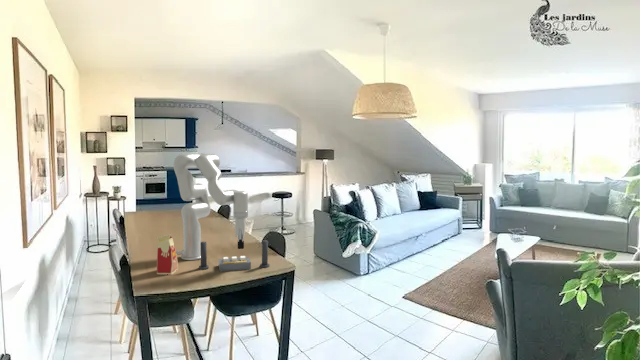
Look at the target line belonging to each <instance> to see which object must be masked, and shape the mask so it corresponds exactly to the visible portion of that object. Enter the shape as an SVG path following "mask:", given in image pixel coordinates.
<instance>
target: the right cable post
mask: <svg viewBox="0 0 640 360" xmlns="http://www.w3.org/2000/svg"><path fill="white" fill-rule="evenodd" d="M261 248H262V249H261V263H260V264H259V268H264V269H266V268H269V267H270V263H268V262H269V261H268V259H269V258H268V255H269V254H268V253H269V249H268V248H269V241H268V240H265V239H263V240H262V241H261Z"/></svg>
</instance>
